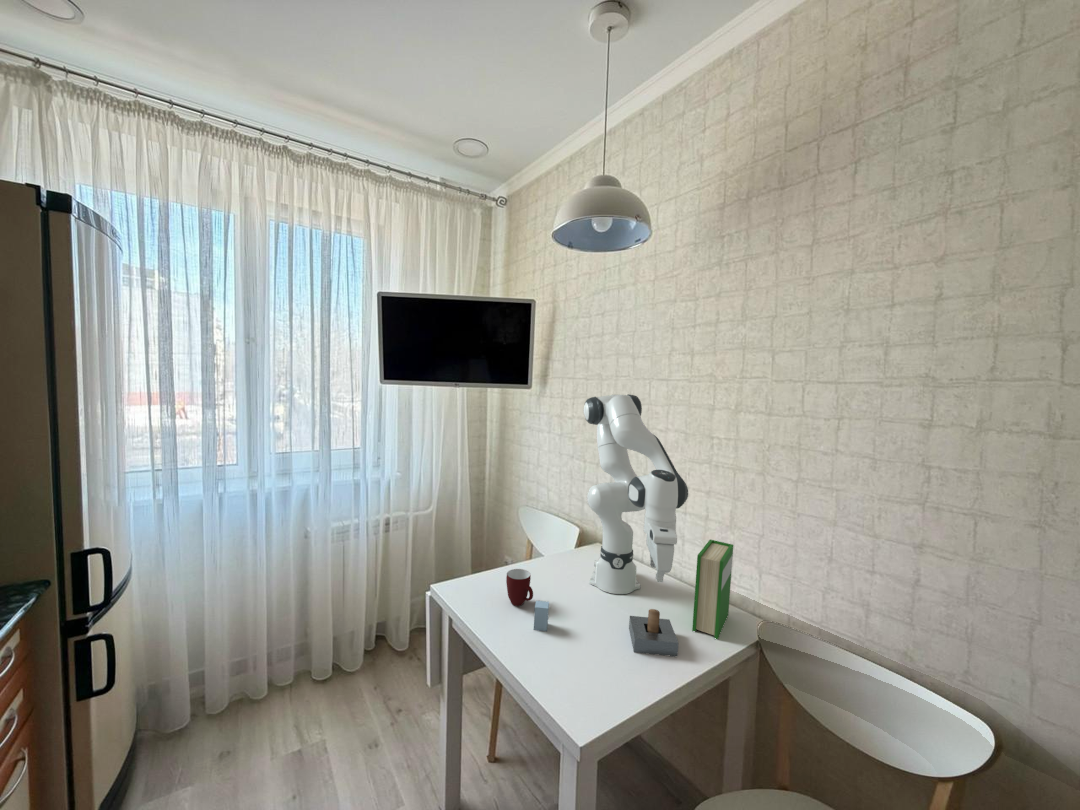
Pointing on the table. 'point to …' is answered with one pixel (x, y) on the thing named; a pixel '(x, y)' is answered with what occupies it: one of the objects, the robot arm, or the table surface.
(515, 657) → the table surface
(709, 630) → the hardback book
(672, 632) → the socket
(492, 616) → the table surface
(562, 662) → the table surface
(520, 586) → the mug
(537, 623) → the square peg
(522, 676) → the table surface
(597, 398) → the robot arm
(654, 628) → the round peg
